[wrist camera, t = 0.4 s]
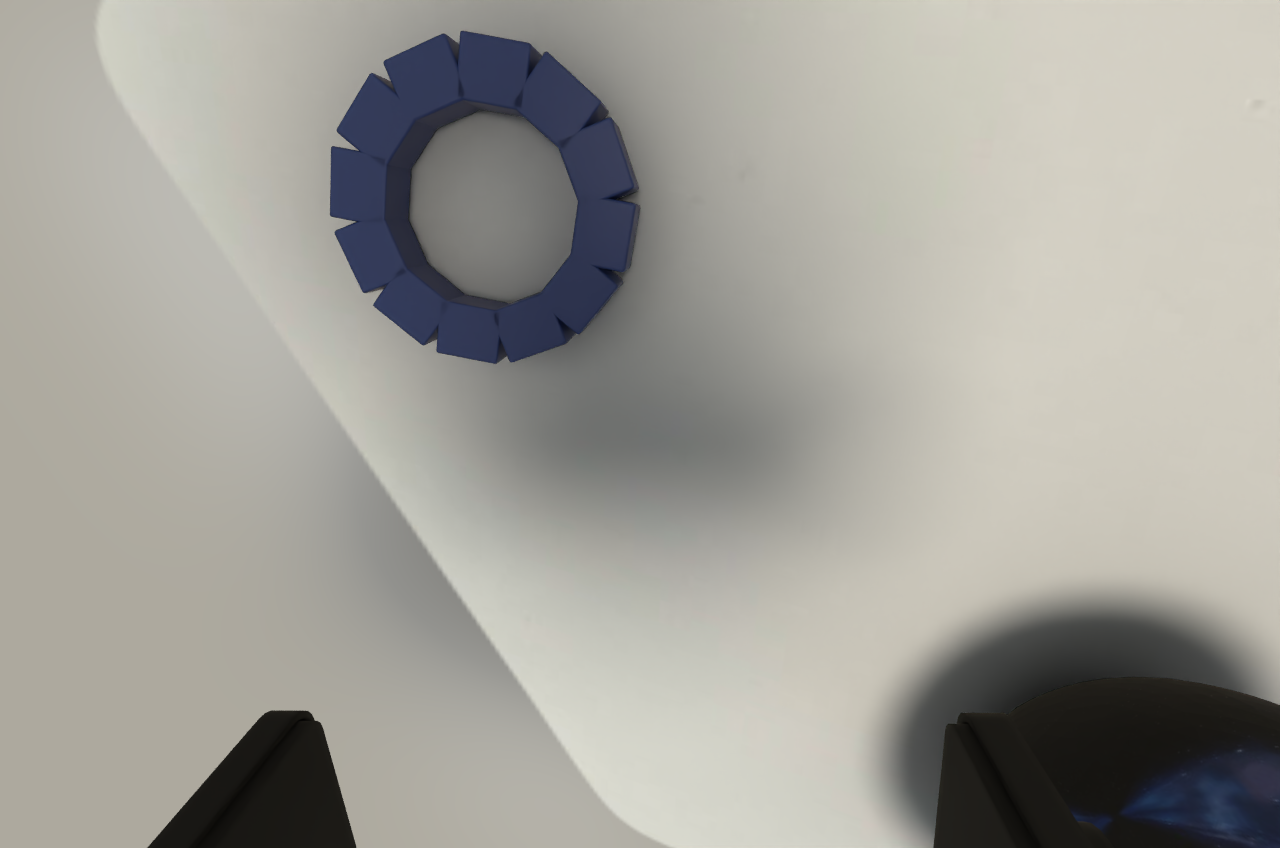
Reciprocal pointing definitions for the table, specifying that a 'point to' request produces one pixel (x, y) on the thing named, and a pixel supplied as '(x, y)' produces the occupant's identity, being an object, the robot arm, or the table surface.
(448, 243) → the table surface
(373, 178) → the blue segmented bracelet
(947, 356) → the table surface
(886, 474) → the table surface
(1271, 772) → the decorative sphere
